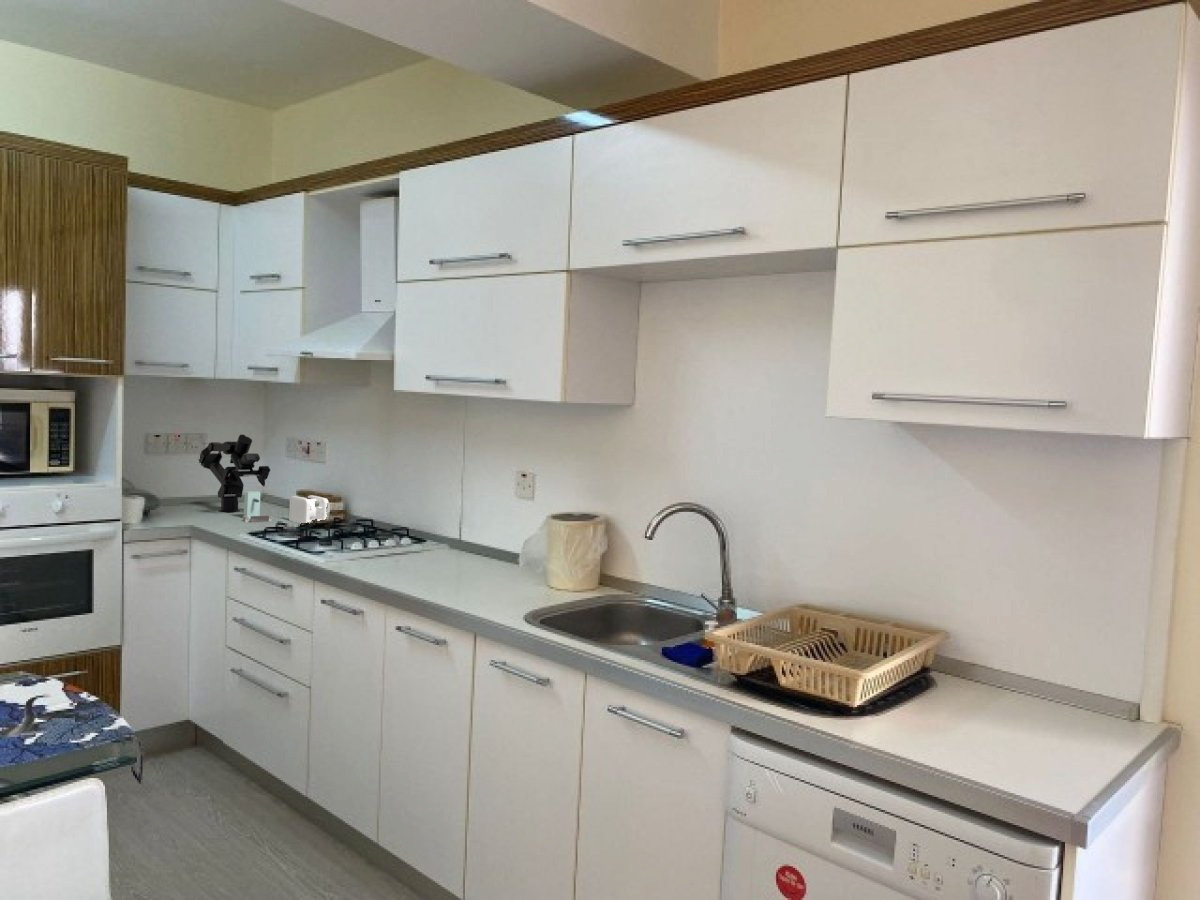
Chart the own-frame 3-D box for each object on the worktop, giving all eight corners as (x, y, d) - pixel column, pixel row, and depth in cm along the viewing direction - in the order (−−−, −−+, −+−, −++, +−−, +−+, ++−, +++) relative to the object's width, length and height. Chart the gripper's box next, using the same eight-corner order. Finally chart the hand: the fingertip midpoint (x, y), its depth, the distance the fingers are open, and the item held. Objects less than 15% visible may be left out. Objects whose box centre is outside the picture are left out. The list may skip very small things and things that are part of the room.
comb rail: (232, 520, 363) (233, 511, 363) (262, 518, 371) (262, 510, 370) (245, 525, 351) (245, 517, 350) (275, 524, 358) (276, 515, 358)
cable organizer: (287, 523, 364) (288, 495, 363) (310, 521, 372) (311, 494, 371) (305, 528, 354) (306, 499, 353) (329, 526, 362) (330, 498, 361)
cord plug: (242, 517, 363) (243, 491, 362) (257, 517, 366) (258, 491, 366) (249, 521, 356) (250, 494, 355) (264, 520, 359) (265, 493, 359)
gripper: (224, 447, 368) (237, 471, 359) (267, 447, 381) (280, 470, 373) (217, 468, 373) (229, 492, 364) (259, 467, 386) (272, 490, 378)
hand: (253, 485), depth 370 cm, fingers open, 9 cm apart
